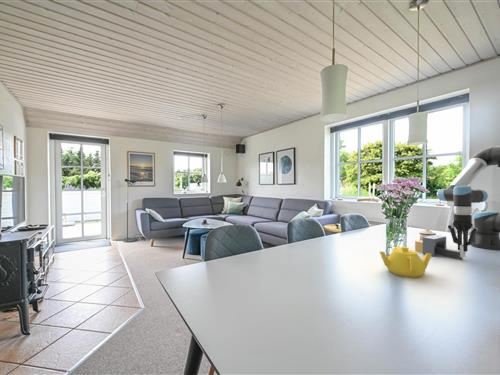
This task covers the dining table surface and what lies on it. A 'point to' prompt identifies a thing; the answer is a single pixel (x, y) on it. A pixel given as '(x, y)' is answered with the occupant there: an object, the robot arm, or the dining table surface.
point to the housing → (433, 243)
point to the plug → (439, 250)
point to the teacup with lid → (426, 233)
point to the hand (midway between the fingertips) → (462, 256)
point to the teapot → (406, 262)
